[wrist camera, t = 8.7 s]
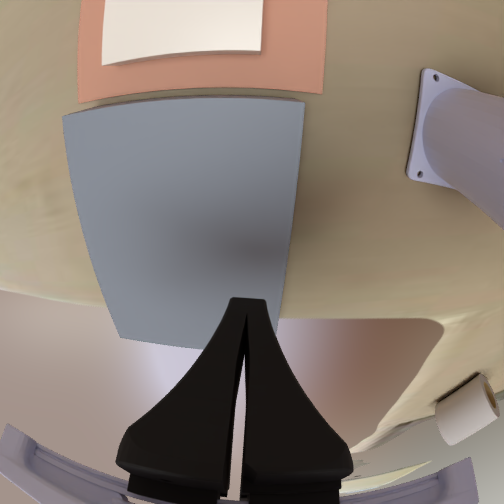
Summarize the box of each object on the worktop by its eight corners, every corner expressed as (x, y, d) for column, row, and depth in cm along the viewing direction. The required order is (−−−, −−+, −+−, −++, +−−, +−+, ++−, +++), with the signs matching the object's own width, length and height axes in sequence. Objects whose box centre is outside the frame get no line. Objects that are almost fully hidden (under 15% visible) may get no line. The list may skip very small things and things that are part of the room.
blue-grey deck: (295, 98, 15) (305, 102, 11) (272, 318, 25) (272, 354, 21) (97, 106, 15) (62, 116, 12) (134, 306, 25) (120, 337, 22)
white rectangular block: (260, 50, 11) (260, 54, 13) (264, -40, 8) (265, -28, 10) (101, 65, 12) (117, 65, 13) (107, -19, 8) (122, -12, 10)
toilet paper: (474, 369, 32) (492, 416, 24) (487, 377, 35) (502, 417, 27) (430, 400, 37) (442, 446, 29) (448, 404, 40) (460, 444, 32)
